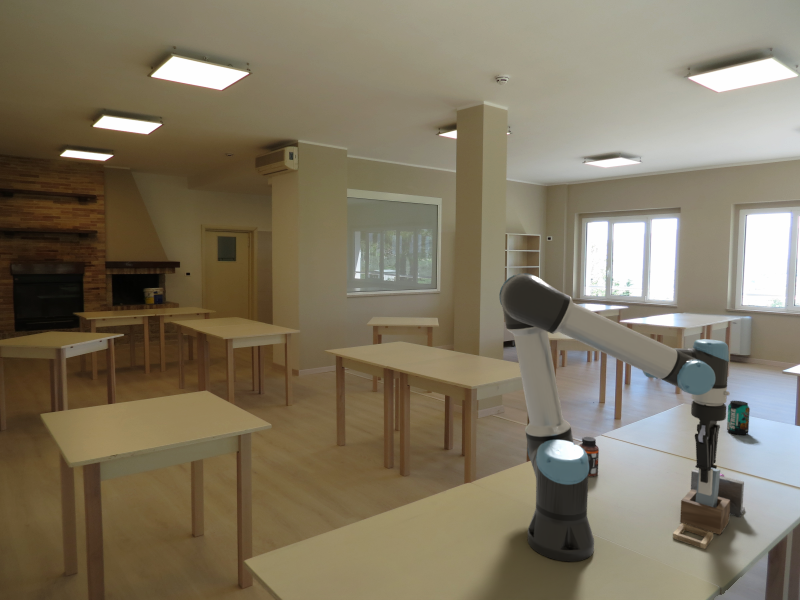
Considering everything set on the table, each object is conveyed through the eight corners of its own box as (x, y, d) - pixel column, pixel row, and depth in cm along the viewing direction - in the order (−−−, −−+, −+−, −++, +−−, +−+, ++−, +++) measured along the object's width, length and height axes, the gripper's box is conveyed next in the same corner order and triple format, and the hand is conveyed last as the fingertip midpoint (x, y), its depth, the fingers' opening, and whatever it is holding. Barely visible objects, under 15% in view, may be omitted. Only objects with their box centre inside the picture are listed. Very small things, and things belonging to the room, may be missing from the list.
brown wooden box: (720, 534, 128) (721, 512, 127) (680, 522, 134) (681, 500, 134) (729, 521, 134) (730, 499, 134) (690, 509, 141) (691, 489, 140)
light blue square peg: (711, 519, 131) (716, 471, 132) (694, 513, 134) (699, 466, 135) (715, 516, 134) (720, 469, 135) (698, 511, 137) (703, 465, 138)
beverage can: (752, 435, 200) (754, 405, 199) (734, 435, 200) (735, 405, 199) (740, 429, 207) (742, 400, 206) (722, 429, 207) (724, 400, 206)
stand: (705, 549, 122) (705, 544, 122) (672, 538, 127) (673, 533, 127) (713, 537, 127) (713, 533, 127) (681, 527, 132) (681, 522, 132)
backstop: (740, 517, 137) (742, 484, 136) (690, 502, 145) (691, 471, 145) (744, 510, 141) (746, 478, 140) (695, 496, 149) (696, 465, 148)
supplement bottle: (599, 478, 161) (600, 442, 160) (579, 476, 163) (580, 441, 162) (596, 470, 167) (597, 436, 166) (577, 469, 168) (577, 434, 167)
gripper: (718, 410, 123) (714, 506, 125) (732, 399, 132) (728, 489, 134) (684, 404, 128) (680, 497, 130) (699, 394, 137) (696, 480, 139)
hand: (705, 493), depth 132 cm, fingers closed
